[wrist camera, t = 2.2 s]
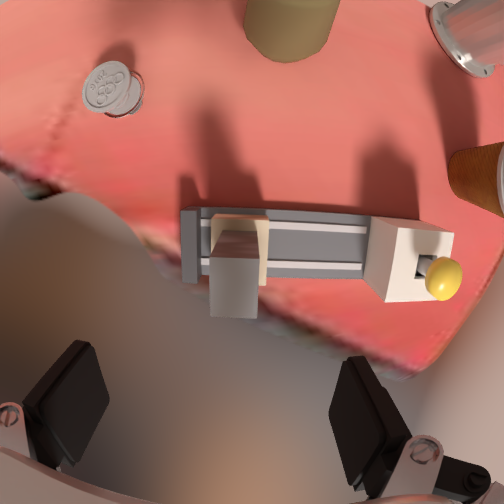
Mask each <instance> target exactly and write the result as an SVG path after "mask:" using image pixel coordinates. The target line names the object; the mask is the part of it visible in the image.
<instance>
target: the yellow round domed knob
mask: <svg viewBox="0 0 504 504" xmlns="http://www.w3.org/2000/svg"><path fill="white" fill-rule="evenodd" d="M416 271H418V272H419V273H421V274H422V275H424V276H425V287H426V290H427V291H428V292H429V293H430V294H431V295H432V296H433V297H435V298H436V299H437V300H440V301H444V300H447V299H449V298H451V297H452V296H453V295H454V294H455V293H456V291H457V290H458V288H459V286H460V284H461V280H462V269H461V266H460V264H459V263H458V262H456V261H454V260H452V259H451V258H449V257H446V256H442V257H439V258H437V259H436V260H435V261H431V260H430V259H428V258H426V257H424V256H423V255H420V254H419V257H418V262H417V267H416Z"/></svg>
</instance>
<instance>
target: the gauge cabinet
mask: <svg viewBox="0 0 504 504" xmlns="http://www.w3.org/2000/svg"><path fill="white" fill-rule="evenodd" d="M453 238H454V233H453V232H451V231H448V230H445V229H443V228H440V227H437V226H435V225H432V224H429V223H426V222H423V221H414V220H405V219H395V218H384V217H373V216H372V217H371V226H370V234H369V242H368V249H367V256H366V263H365V269H364V275H363V280H364V281H365V282H366V283H367V284H368V285H369V286H370V287H371V288H372V289H373V290H374V291H375V292H376V293H377V295H378V296H379V297H380V298H381V299H382V300H383V301H384V302H407V301H428V300H437V299H436V298H435V297H433V296H432V295H431V294H430V293H429V292H428V291H427V290H426V287H425V276H424V275H422V274H421V273H419V272H418V271H416V267H417V262H418V257H419V254H420V255H423V256H424V257H426V258H428V259H430V260H431V261H435V260H436V259H437V258H439V257H442V256H446V257H449V258H450V255H451V250H452V244H453Z"/></svg>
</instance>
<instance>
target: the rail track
mask: <svg viewBox="0 0 504 504" xmlns="http://www.w3.org/2000/svg"><path fill="white" fill-rule="evenodd" d="M215 214H246V215H268V218H269V239H268V257H267V274H266V277H278V278H318V279H363V275H364V269H365V263H366V256H367V249H368V242H369V234H370V226H371V217H372V216H373V215H361V214H349V213H335V212H321V211H305V210H287V209H266V208H240V207H198V206H188V207H186V208H184V209H183V210H181V211H180V218H181V261H182V283H196V284H197V283H198V281H199V279H200V277H201V275H209V257H210V255H211V218H212V217H213V216H214V215H215ZM373 217H384V216H373ZM384 218H394V217H384ZM395 219H404V218H395ZM405 220H413V219H405ZM414 221H421V220H414Z"/></svg>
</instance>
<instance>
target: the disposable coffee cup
mask: <svg viewBox="0 0 504 504" xmlns="http://www.w3.org/2000/svg"><path fill="white" fill-rule="evenodd" d="M448 178H449V183H450V186H451V188H452V190H453V192H454V194H455V195H456V196H457V197H459V198H460V199H463V200H465V201H468V202H470V203H472V204H475V205H477V206H479V207H481V208H483V209H485V210H488V211H490V212H492V213H494V214H496V215H498V216H500V217H502V218H504V142H499V143H498V144H497V143H495V144H491V145H485V146H479V147H475V148H471V149H466V150H462V151H458V152H456V153H455V154H454V155H453V156H452V158H451V160H450V162H449V167H448Z"/></svg>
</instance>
